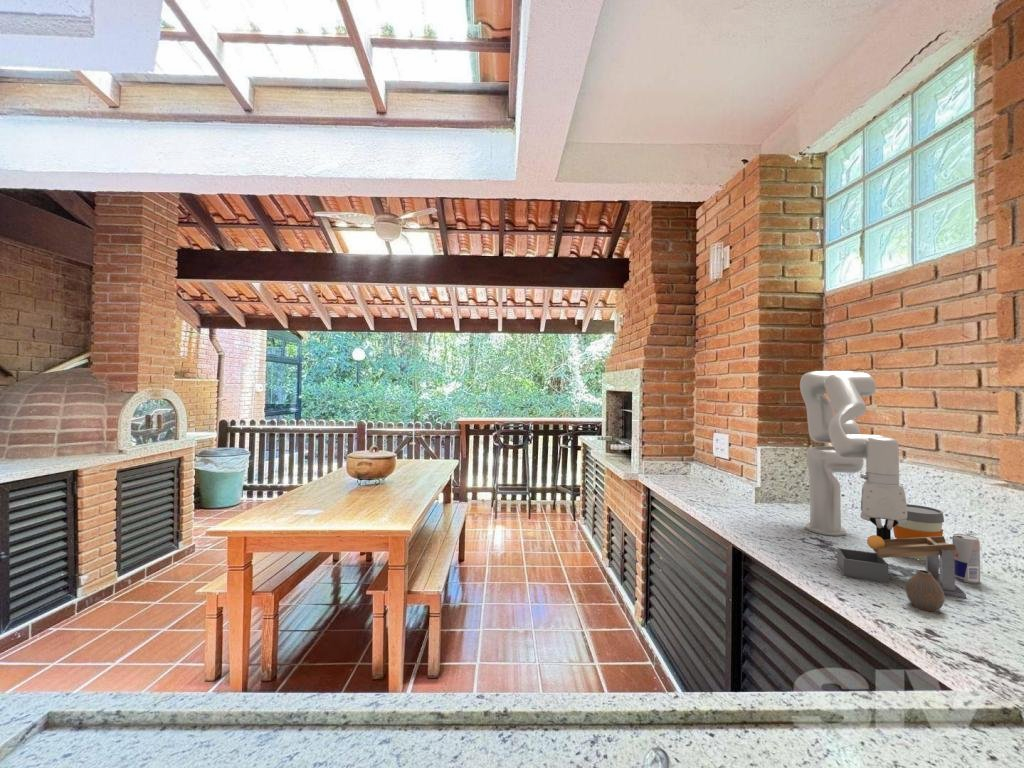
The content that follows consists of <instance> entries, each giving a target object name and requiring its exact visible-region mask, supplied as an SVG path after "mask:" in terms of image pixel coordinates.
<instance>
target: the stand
mask: <svg viewBox="0 0 1024 768" xmlns="http://www.w3.org/2000/svg"><path fill="white" fill-rule="evenodd" d="M924 562H925V571H929V572H930V573H931V574H932V576H933V577H934V579H935V580H936V581H937V582H938V583H939V584H940V586H941V587H942V589H943V592H944V596H948V597H949V596H950V597H954V598H955V597H956V598H963V599H967V594H966V593H965V592H964V591H963V590H962V589H961V588H960V587H958V585H956V579H955V560H954V552H953V551H951V550H943V549H940V555H930V556H925V561H924ZM918 570H919V569H918ZM918 570H917V569H916V570H915V574H916V573H917V571H918Z"/></svg>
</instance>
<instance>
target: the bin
mask: <svg viewBox="0 0 1024 768" xmlns="http://www.w3.org/2000/svg"><path fill="white" fill-rule="evenodd" d="M837 564H838V565H837ZM836 565H837V567H838V566H839V567H838V568H840V569H839V570H841V571H840V573H841V575H842V576H843V577H844V576H847V577H846V578H849V577H852V578H851V579H856V578H857V580H862V579H863V581H870V582H876V583H883V584H889V564H888V563H887V562H886V560H885V559H884V558H880V557H879V556H878V555H877V553H876V552H870V551H863V550H855V549H848V548H841V547H836Z"/></svg>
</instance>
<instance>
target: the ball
mask: <svg viewBox="0 0 1024 768" xmlns="http://www.w3.org/2000/svg"><path fill="white" fill-rule="evenodd" d="M866 543H867V546H868V547H869V548H871V549H872V550H873V549H874V550H877V548H884V547H885V542H884V540H883V539H882V538H881V537H879V536H877V534H874V535H870V536H869V537H868V538H867V539H866ZM874 550H873V551H874Z"/></svg>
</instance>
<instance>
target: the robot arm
mask: <svg viewBox="0 0 1024 768" xmlns="http://www.w3.org/2000/svg"><path fill="white" fill-rule="evenodd" d="M876 384H877V383H876V381H875V379H874V377H873V376H872V375H870V374H869V373H866V372H862V371H855V370H813V371H809V372H806V373H804V374H802V376H801V378H800V382H799V389H800V394H801V396H802V398H803V399H802V400H803V401H804V404H805V408H806V416H807V418H806V419H807V428H808V435H809V438H810V439H811V440H812V442H815V443H821V444H823V443H825V444H832V446H831V445H826V446H823V445H820V446H819V445H818V446H814V447H810V448H809V449H808V450H807V451H806V457H805V458H806V464H807V469H808V475H809V476H808V479H809V522H808V523H805V527H804V528H805V530H807V531H809V532H813V533H815V534H819V535H823V536H824V535H825V536H834V537H835V536H836V537H838V536H839V537H840V536H845V535H846V534H847V530H846V528H843V527H842V516H841V515H842V513H841V512H842V510H841V506H842V504H841V502H842V500H841V494H842V493H841V485H840V482H839V480H838V478H836V476H834V473H842V474H843V473H847V474H848V473H849V474H852V473H853V474H854V473H859V472H860V471H862V469H863V467H864V459H866V461H865V463H866V464H865V465H866V467H865V469H866V471H865V473H860V479H864V480H866V481H863V485H862V490H861V497H860V511H861V513H860V515H859V516H860V518H861V519H862V520H865V521H867V522H868V521H869V522H871V523H872V525H874V526H875V527H876V534H875V535H876V536H879V537H881V538H882V539H883V540H887V539H891V538H892V537H891V535H892V534H891V533H892V532H891V530H893V527H894V526H896V525H897V524H905V523H907V520H906V519H907V504H908V503H907V500H906V499H907V497H906V492H905V489H904V486H903V485H902V484H900V457H899V455H900V454H899V450H900V449H899V446H900V445H899V442H898V440H897V439H896V438H892V437H886V436H884V435H881V434H866V433H865V434H863V433H861V429H860V426H859V424H858V423H857V422H856V419H858V418H860V417H862V416H863V415H864V414H865V413H866V412H867V405H866V404H865V402H864V399H863V398H868V397H871V396H872V395H874V394H875V392H876V390H877V389H876V388H877V385H876ZM824 394H827V396H828V398H829V399H828V398H827V396H825V395H824ZM882 520H885V521H884V524H883V525H882Z"/></svg>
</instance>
